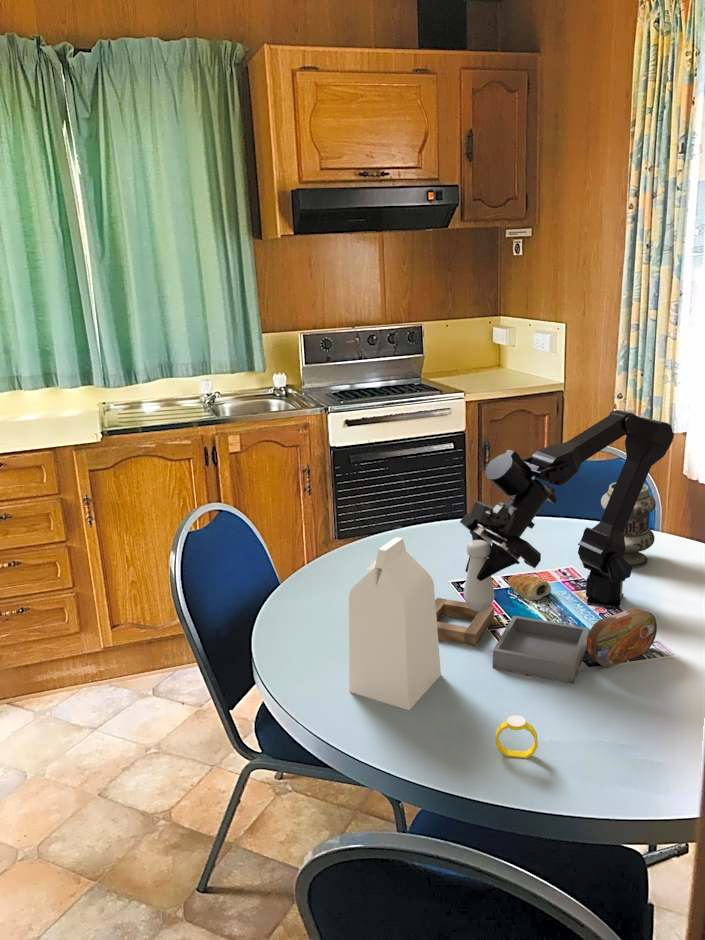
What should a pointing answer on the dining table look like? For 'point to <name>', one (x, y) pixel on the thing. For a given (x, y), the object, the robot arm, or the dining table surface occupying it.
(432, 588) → the milk
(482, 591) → the salt shaker
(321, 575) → the dining table surface
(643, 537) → the apothecary jar
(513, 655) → the bin
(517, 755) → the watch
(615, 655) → the tin
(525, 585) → the pastry
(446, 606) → the brown flat square frame
